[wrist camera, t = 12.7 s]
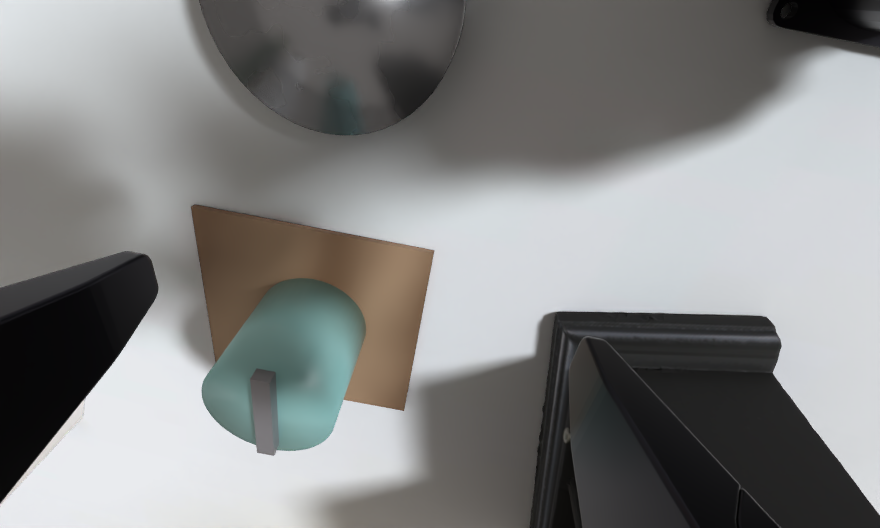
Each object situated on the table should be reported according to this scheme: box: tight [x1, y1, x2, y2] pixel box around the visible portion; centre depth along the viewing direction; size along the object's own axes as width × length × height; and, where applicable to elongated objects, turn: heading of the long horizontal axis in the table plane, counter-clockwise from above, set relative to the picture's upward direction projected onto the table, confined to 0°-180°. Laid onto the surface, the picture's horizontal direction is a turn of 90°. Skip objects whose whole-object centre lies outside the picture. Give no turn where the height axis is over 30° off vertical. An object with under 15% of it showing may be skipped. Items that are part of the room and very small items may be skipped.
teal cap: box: [202, 278, 366, 456], centre depth 22 cm, size 6×6×7 cm
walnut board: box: [191, 205, 434, 411], centre depth 25 cm, size 12×12×1 cm
